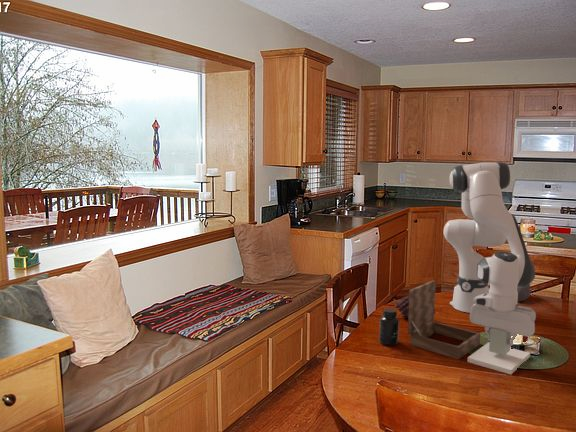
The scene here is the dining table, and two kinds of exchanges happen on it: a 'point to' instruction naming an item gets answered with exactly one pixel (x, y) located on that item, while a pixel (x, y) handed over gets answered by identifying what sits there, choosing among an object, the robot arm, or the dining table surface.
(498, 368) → the cutting board
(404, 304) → the pine cone
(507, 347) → the block
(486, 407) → the dining table surface
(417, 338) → the walnut box
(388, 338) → the supplement bottle
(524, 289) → the perforated stone tool
